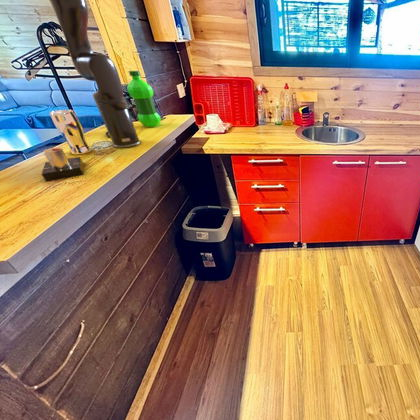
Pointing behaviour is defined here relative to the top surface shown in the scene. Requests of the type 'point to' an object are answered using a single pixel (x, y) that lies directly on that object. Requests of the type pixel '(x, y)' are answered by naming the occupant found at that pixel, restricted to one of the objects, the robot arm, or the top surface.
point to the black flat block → (63, 170)
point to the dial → (56, 158)
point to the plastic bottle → (143, 100)
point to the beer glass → (70, 130)
